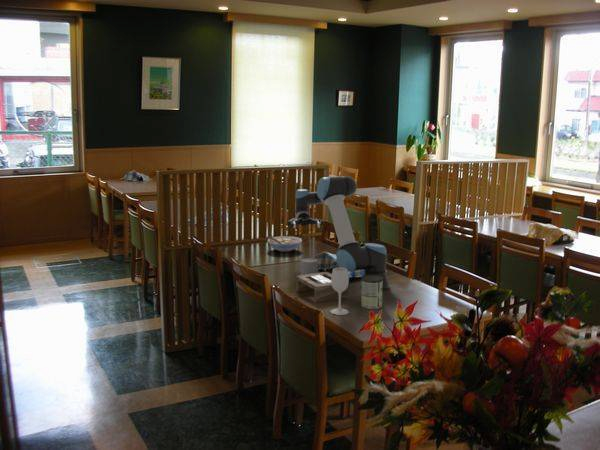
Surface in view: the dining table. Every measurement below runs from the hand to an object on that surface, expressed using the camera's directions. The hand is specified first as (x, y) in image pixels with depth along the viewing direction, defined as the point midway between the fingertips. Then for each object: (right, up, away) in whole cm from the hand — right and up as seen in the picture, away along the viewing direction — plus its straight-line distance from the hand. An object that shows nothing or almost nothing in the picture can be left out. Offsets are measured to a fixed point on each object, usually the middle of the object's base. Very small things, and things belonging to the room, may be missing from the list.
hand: (307, 225), depth 351 cm
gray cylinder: (+1, -31, -4) cm, 31 cm away
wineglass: (+15, -41, -53) cm, 69 cm away
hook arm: (+7, -29, -27) cm, 40 cm away
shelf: (+7, -35, -25) cm, 44 cm away
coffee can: (+31, -39, -44) cm, 66 cm away
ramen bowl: (-14, -17, +66) cm, 69 cm away
